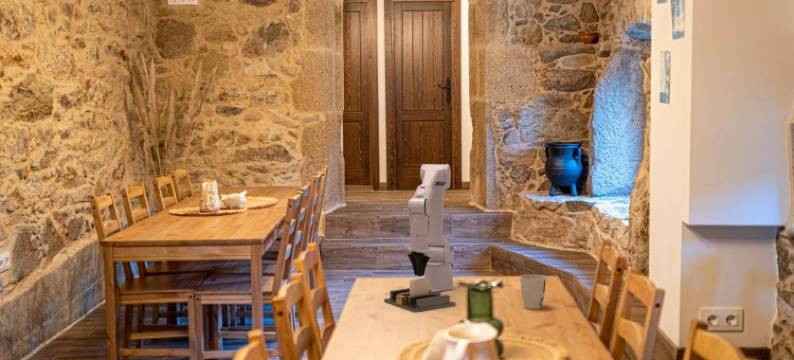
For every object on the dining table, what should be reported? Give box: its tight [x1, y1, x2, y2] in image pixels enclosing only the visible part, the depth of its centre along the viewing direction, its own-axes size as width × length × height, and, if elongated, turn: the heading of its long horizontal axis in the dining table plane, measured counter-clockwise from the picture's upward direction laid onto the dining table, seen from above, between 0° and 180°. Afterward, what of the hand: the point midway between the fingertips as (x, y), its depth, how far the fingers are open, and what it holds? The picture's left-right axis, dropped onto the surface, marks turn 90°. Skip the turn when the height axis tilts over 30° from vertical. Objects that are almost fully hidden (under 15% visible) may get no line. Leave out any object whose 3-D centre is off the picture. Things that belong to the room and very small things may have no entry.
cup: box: [520, 273, 547, 310], centre depth 289 cm, size 8×8×10 cm
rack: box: [383, 287, 456, 313], centre depth 296 cm, size 16×18×4 cm
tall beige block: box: [409, 277, 429, 296], centre depth 296 cm, size 6×2×7 cm, turn 123°
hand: (419, 275), depth 295 cm, fingers closed
